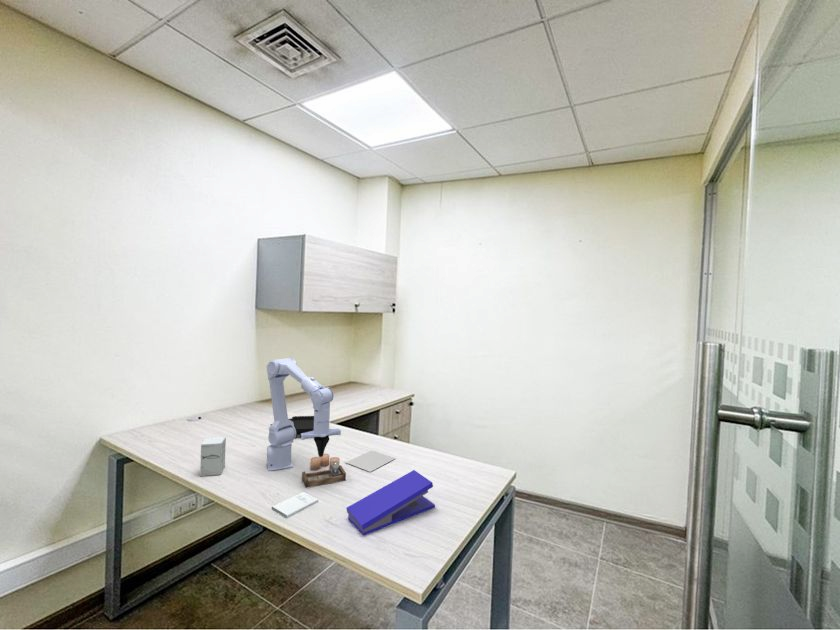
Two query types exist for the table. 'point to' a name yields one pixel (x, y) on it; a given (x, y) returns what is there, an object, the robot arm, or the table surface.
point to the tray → (303, 424)
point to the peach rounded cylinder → (325, 460)
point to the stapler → (391, 503)
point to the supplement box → (212, 456)
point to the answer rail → (322, 478)
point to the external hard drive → (294, 504)
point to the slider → (335, 469)
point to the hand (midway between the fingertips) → (320, 455)
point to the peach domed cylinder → (333, 461)
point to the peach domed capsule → (315, 463)
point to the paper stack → (370, 460)
